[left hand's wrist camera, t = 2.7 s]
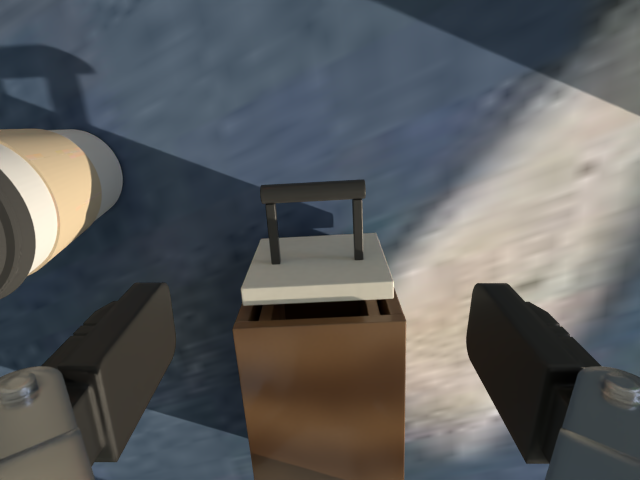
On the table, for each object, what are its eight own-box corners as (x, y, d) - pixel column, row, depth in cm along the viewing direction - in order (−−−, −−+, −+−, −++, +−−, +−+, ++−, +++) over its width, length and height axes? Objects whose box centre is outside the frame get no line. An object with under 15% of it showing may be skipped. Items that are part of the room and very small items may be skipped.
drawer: (253, 171, 32) (228, 201, 24) (375, 164, 32) (394, 192, 23) (281, 428, 40) (271, 518, 32) (378, 424, 40) (393, 513, 32)
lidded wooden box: (257, 259, 35) (231, 328, 25) (382, 253, 35) (406, 320, 25) (279, 448, 42) (266, 561, 32) (383, 444, 42) (403, 556, 32)
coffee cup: (-3, 179, 33) (-245, 250, 19) (55, 86, 31) (-173, 87, 16) (98, 251, 35) (-53, 363, 21) (160, 169, 33) (36, 233, 18)
